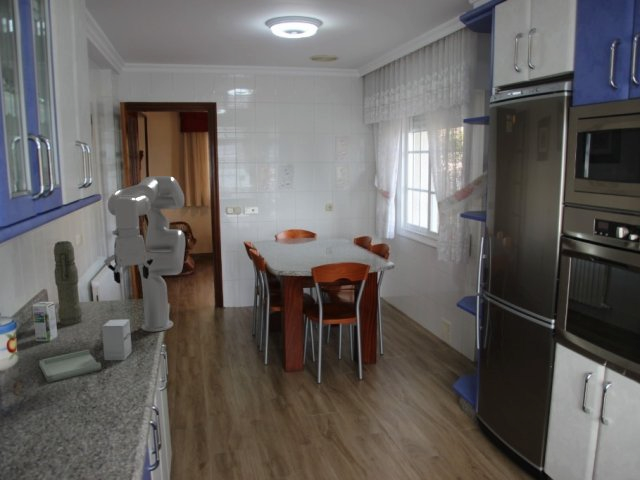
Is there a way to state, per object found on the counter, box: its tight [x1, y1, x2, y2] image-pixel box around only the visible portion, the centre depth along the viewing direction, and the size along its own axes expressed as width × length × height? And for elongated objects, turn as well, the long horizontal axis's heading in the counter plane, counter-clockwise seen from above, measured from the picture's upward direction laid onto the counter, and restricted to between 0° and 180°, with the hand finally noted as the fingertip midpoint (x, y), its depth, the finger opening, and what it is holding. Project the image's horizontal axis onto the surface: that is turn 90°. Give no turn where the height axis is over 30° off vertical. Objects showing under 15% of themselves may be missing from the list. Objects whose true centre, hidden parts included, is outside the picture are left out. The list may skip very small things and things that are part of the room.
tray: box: [38, 348, 102, 384], centre depth 175 cm, size 16×16×2 cm
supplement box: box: [101, 319, 133, 361], centre depth 184 cm, size 7×7×13 cm
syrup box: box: [32, 301, 58, 342], centre depth 202 cm, size 6×6×14 cm
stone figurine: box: [53, 240, 83, 326], centre depth 220 cm, size 9×12×35 cm
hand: (132, 280), depth 183 cm, fingers open, 9 cm apart
